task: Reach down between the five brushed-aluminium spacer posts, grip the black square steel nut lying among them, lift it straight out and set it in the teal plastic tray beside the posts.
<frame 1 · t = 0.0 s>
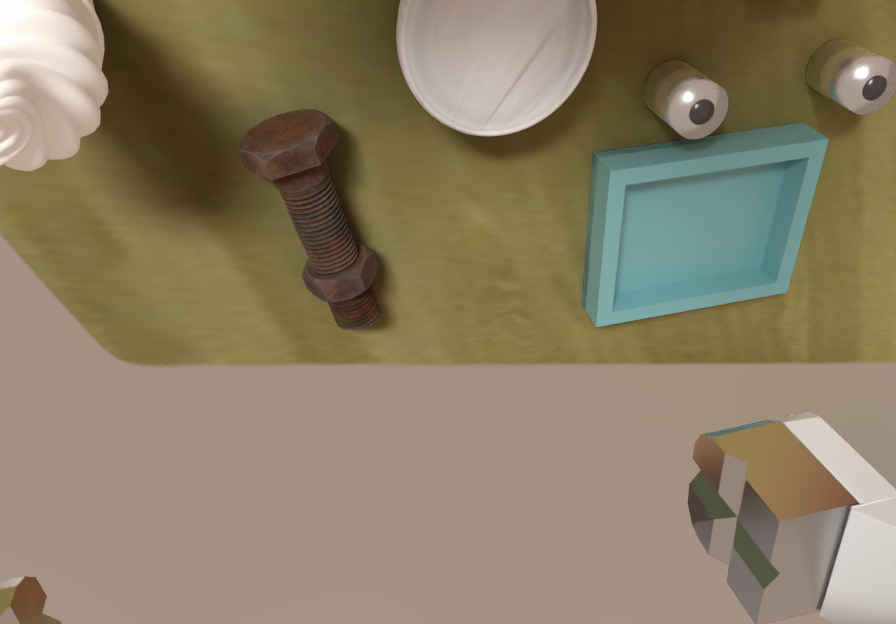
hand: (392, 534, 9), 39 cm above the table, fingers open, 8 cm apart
tray: (687, 217, 57), on the table
ramekin: (475, 13, 45), on the table
soft serve ice cream cone: (50, 2, 39), on the table
bolt: (320, 216, 50), on the table
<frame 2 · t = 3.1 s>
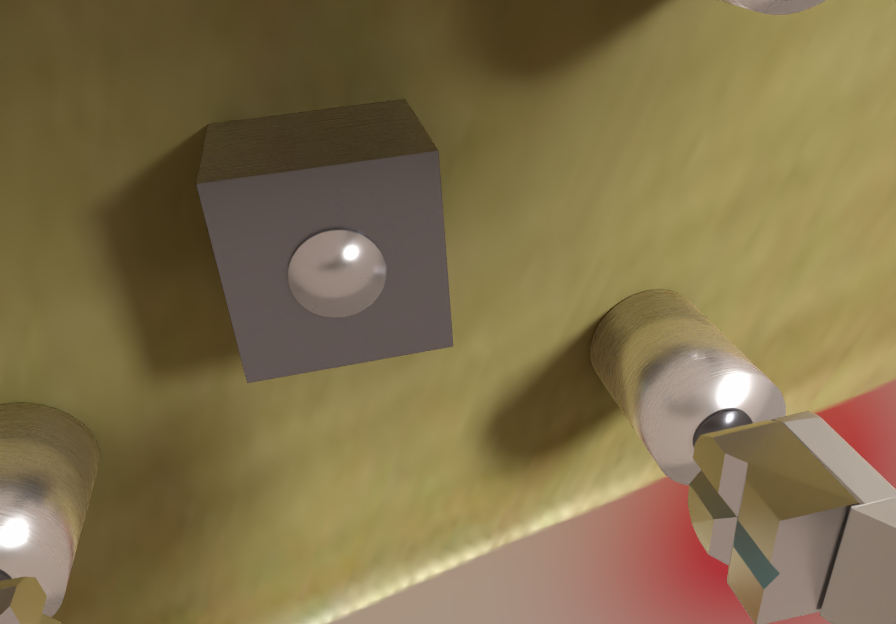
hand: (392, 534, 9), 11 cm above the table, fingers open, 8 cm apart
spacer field: (323, 203, 19), on the table
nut: (323, 201, 19), on the table
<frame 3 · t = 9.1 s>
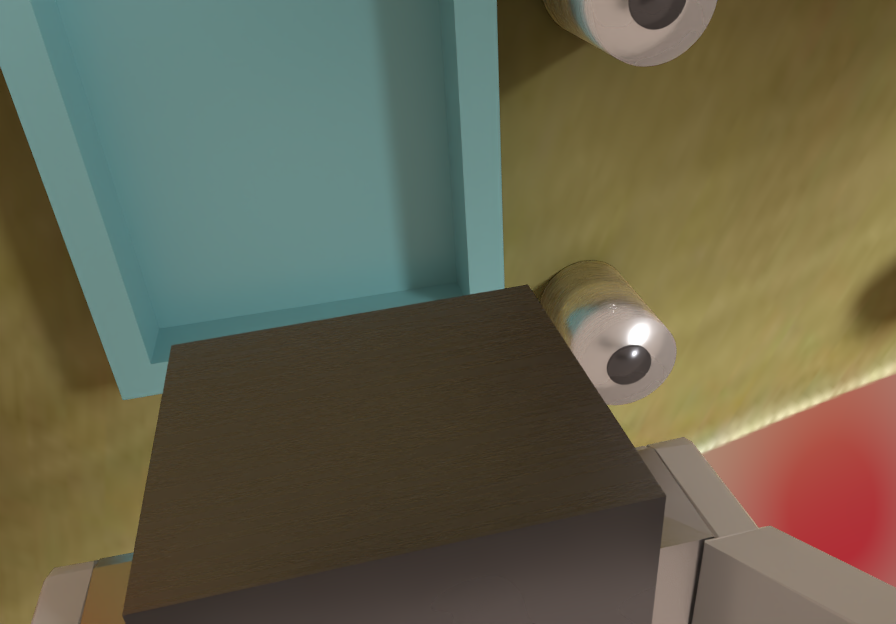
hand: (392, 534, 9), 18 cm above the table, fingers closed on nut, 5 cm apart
tray: (277, 109, 24), on the table
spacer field: (816, 126, 28), on the table
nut: (376, 449, 11), point 16 cm above the table, touching gripper
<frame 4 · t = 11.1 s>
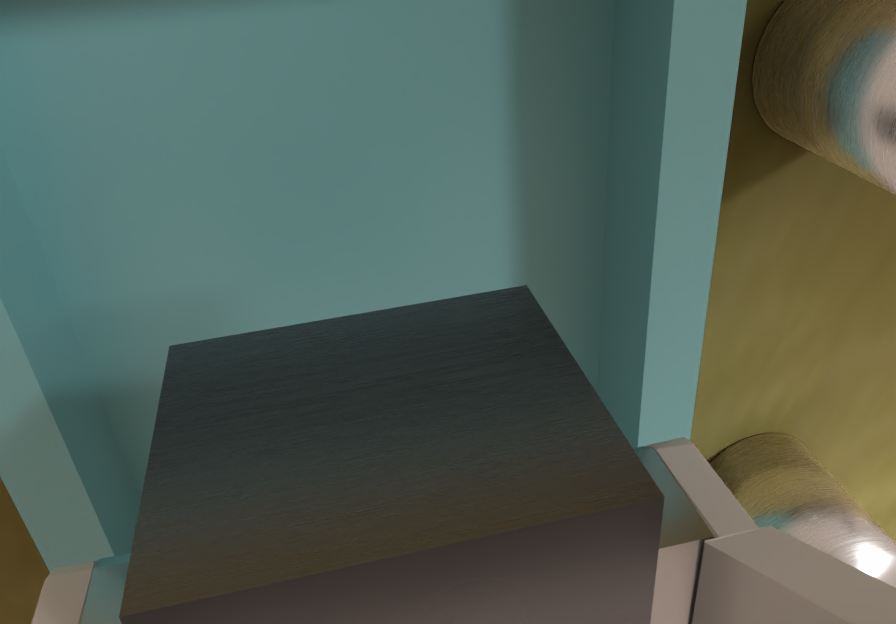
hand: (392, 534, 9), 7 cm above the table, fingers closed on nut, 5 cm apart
tray: (348, 265, 16), on the table
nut: (375, 450, 11), point 6 cm above the table, touching gripper
when the fingers open (4 cm above the table, at t = 12.6 s): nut drops 1 cm, resting on tray.
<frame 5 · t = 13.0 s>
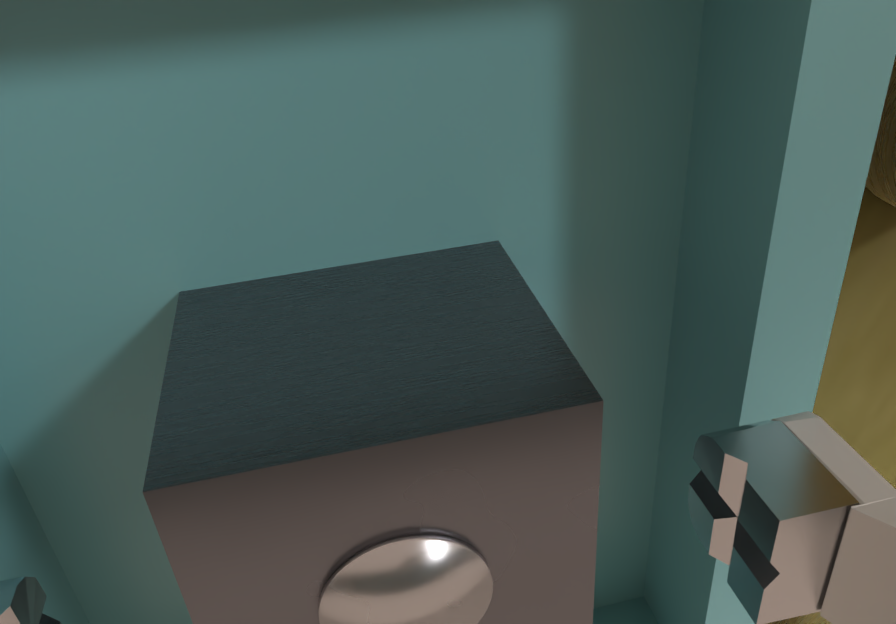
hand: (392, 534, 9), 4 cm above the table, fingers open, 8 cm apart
tray: (355, 363, 13), on the table
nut: (364, 392, 12), point 1 cm above the table, touching tray
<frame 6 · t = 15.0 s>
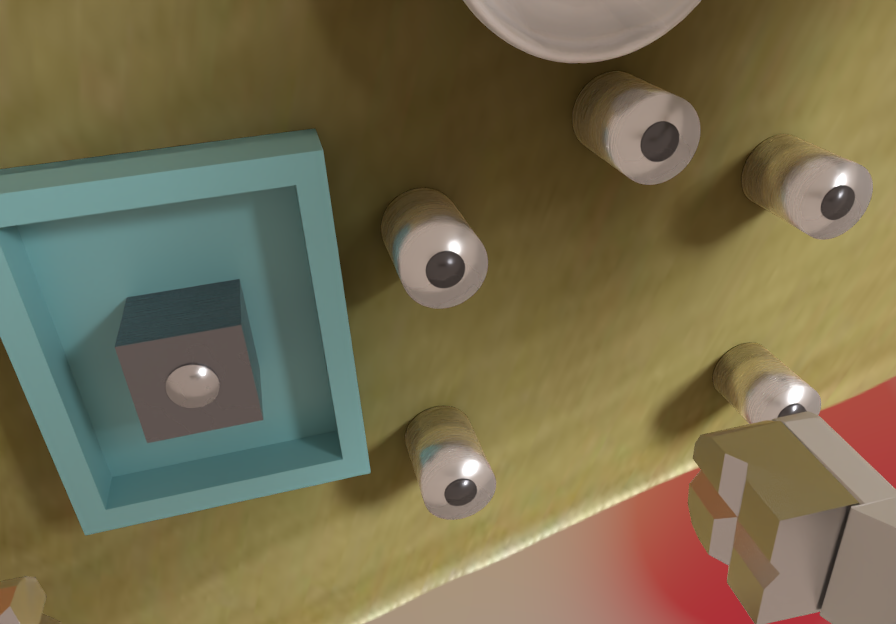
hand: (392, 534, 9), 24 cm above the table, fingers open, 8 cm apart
tray: (195, 324, 33), on the table
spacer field: (600, 306, 38), on the table
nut: (196, 334, 33), point 1 cm above the table, touching tray
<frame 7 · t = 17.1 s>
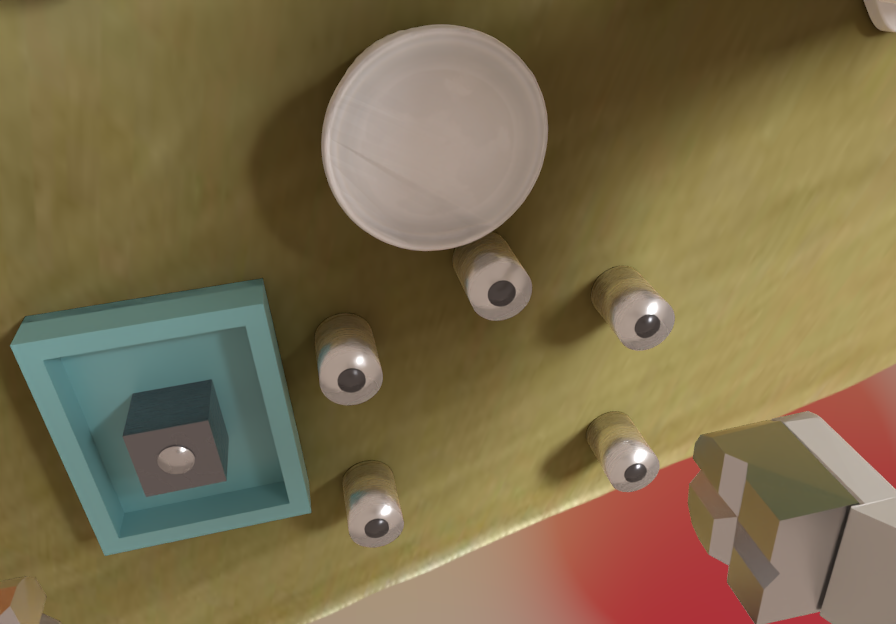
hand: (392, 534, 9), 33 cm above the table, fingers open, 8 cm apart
tray: (182, 408, 47), on the table
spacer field: (488, 388, 51), on the table
ramekin: (418, 117, 41), on the table
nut: (182, 416, 46), point 1 cm above the table, touching tray
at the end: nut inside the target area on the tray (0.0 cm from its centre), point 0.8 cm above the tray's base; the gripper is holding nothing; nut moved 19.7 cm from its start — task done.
